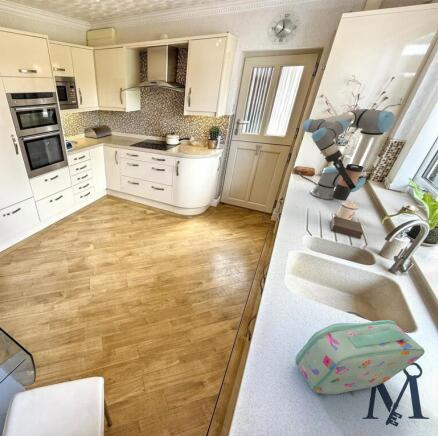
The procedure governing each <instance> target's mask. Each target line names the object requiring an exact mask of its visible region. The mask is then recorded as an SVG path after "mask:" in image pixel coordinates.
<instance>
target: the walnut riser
mask: <svg viewBox="0 0 438 436" xmlns="http://www.w3.org/2000/svg"><path fill="white" fill-rule="evenodd" d="M330 231H331V232H334V233H339V234H342V235H346V236H350V237H353V238H356V239H361V237H362V236H363V234H364V231H363V227H362V224H361V222H359V221H355V220H352V219H351V220H347V219H343V218H339V217H337V216H335V215H333V216H332V218H331V219H330Z"/></svg>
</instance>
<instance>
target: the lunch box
mask: <svg viewBox="0 0 438 436" xmlns="http://www.w3.org/2000/svg"><path fill="white" fill-rule="evenodd" d="M425 351H426V350H425V348H424V347H423V346H422V345H420V344H419V343H418V342H417V341H415V339H413V338H412V337H411V336H410V335H409V334H407V333H406V332H405V330H403V329H402V328H401V327H400V326H399V325H398V324H397V322H395V321H394V320H390V319H380V320H374V321H369V322H340V323H333V324H330V325H327V326H325V327H324V328H322V329H320V330H318V331H316V332H315V333H313V335H312V336H310V338H309V339H308V341H307V342H306V343H305V345H303V347H302V348H301V349H300V350H299V352H297V354H296V356H295V359H294V360H295V365H296V366H297V367H298V369H299V371H300V372H301V374H302V375H303V377H304V379H305V380H306V382H307V384H308V386H309V387H310V389H311V391H312V392H313V393H316V394H322V395H329V396H331V395H337V394H343V393H348V392H352V391H354V392H355V391H359V390H364V389H365V390H366V389H371V388H375V387H377V386H379V385H381V384H383V383H386V382H387V381H389V380H391V379H392V378H393V377H396V375H397V374H399V373H401V372H403V371H404V370H405V369H407V368H408V367H410V366H411V365H413V364H414V363H415V362H416V361H418V360H419V359H420V358H422V356H424V354H425Z"/></svg>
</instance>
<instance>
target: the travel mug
mask: <svg viewBox="0 0 438 436" xmlns="http://www.w3.org/2000/svg"><path fill="white" fill-rule="evenodd" d="M363 168H364V167H362V166H359V165H355V164H350V163H347V164H346V166H345V171H346V173H347V174H348V176H349V177H350V178H351V180H352V182H353V183H354V185H355V183H356V182H357V180H358V178H359V176H360V174H361V172H362V170H363ZM364 169H365V168H364ZM363 171H364V170H363ZM351 191H352V189H351V190H350V188H349V187H348V185H347V184H346V182H345V181H343V178H342V176H341V178H340V180H339V182H338V184H337V186H336V187H335V188H334V193H333V195H332V197H333V199H334V200H337V201H342V202H345V201H347V199H348V198H349V196H350V194H351V193H352V192H351Z"/></svg>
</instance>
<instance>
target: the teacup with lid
mask: <svg viewBox="0 0 438 436" xmlns="http://www.w3.org/2000/svg"><path fill="white" fill-rule="evenodd" d="M358 210H359V206H358V205H357V204H355V203H354V201H352V200H350V201H346V202H345V201H342V202H341V203H340V205H339V208H338V210H337V212H336V214H335V215H336V216H335V217H339V218H343V219H347V220H351V221H352V219H353V218H354V216H355V214H356V212H357V211H358Z"/></svg>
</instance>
